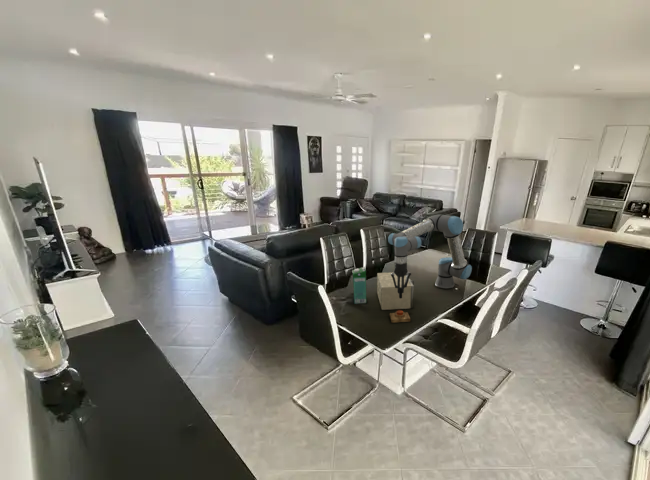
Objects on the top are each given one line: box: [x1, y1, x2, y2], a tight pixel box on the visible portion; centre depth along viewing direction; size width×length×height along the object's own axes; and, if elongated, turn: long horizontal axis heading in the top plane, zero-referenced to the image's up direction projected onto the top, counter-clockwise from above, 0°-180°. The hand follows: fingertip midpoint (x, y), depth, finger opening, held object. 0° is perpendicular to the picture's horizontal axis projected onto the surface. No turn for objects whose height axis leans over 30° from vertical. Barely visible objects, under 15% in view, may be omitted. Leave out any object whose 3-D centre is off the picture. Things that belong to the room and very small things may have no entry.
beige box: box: [376, 271, 411, 311], centre depth 232 cm, size 22×28×17 cm
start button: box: [396, 309, 404, 315], centre depth 208 cm, size 4×4×2 cm
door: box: [406, 275, 415, 309], centre depth 230 cm, size 5×21×17 cm, turn 6°
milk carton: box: [352, 266, 368, 305], centre depth 231 cm, size 9×9×25 cm
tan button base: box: [389, 311, 411, 324], centre depth 209 cm, size 12×9×4 cm
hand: (400, 297), depth 204 cm, fingers closed
